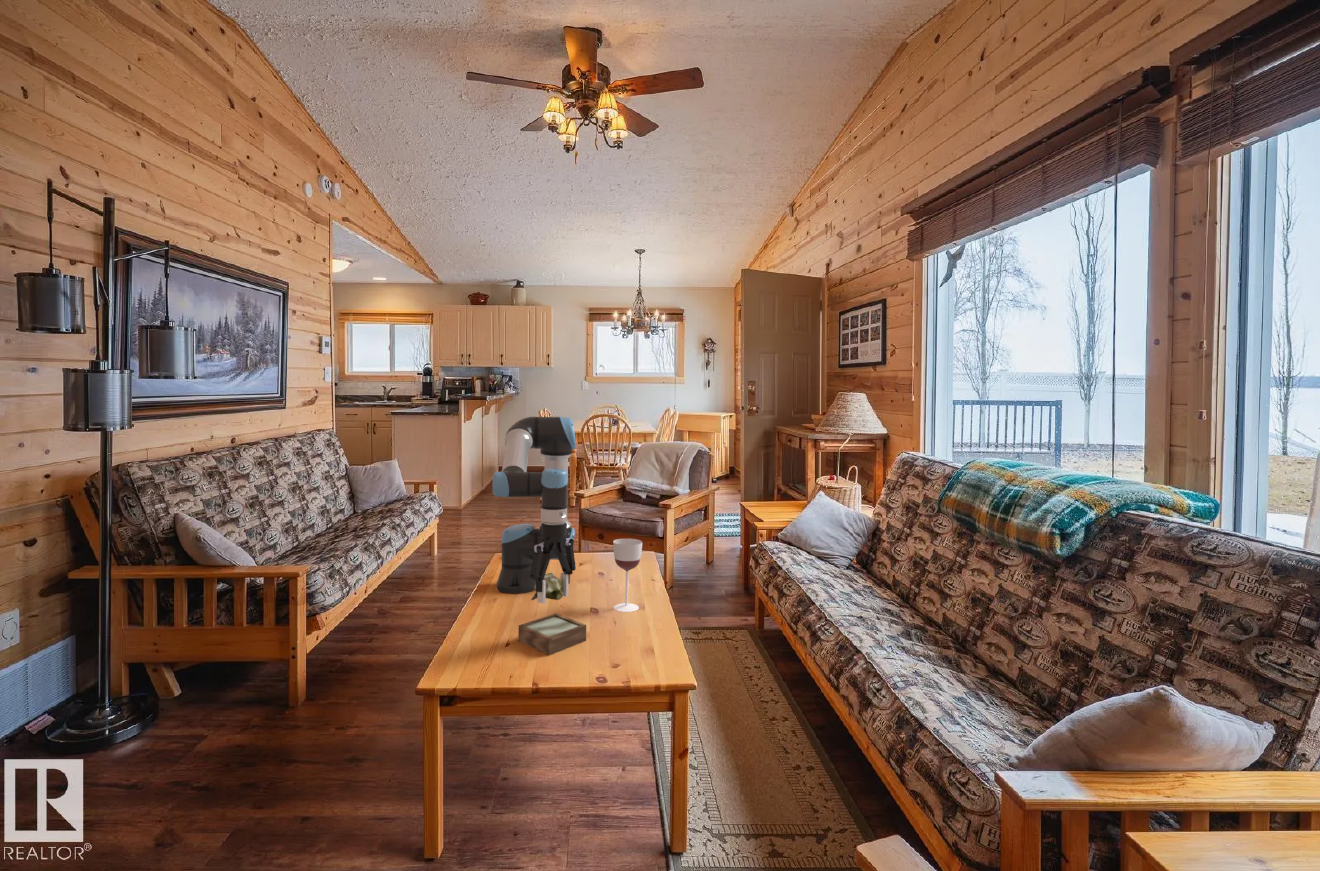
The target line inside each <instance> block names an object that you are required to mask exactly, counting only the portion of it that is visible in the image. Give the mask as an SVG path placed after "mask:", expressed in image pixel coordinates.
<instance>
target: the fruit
mask: <svg viewBox="0 0 1320 871" xmlns="http://www.w3.org/2000/svg"><path fill="white" fill-rule="evenodd" d="M543 580H544V581H546V598H545V599H548V600H554V601H559V600H561V599H562V598H563V597H564V596H563V595H564V594H563V590H562V580H561V577H556V575H555V573H553V572H548V573H545V576H544V579H543ZM534 589H535V590H534V592H535V594H534V595H533V596H532V598H531V601H535V600H536V599H537V595H538V592H537V591H536V584H535V587H534Z"/></svg>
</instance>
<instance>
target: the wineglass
mask: <svg viewBox="0 0 1320 871" xmlns="http://www.w3.org/2000/svg"><path fill="white" fill-rule="evenodd" d="M612 542H613V545H612V547H613V556H614V560H615V561H614V563H615V564H616V565H617V567H619V568H620V569H622V570H624V571H625V594H624V595H625V598H624V602H623V603H618V604H615V605H614V606H613V609H614V610H615V611H618V612H622V613H631V612H636V611H637V610H639V609H640V607H639V605H637V604H636V603H629V572H630V571H631V570H633V569H635V568H636V567H637V566H639V563H640V561H641V558H642V557H641V556H642V551H643V550H642V549H643V541H642V540H640V539H636V538H617V539H614V540H613V541H612Z"/></svg>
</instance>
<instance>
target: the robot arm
mask: <svg viewBox="0 0 1320 871" xmlns="http://www.w3.org/2000/svg"><path fill="white" fill-rule="evenodd" d="M575 432H576V430H575V424H574V420H573V419H572V418H570V417H563V416H527V417H524V418H521V419H520V420H518V421H516V422H514V423H513V424H512V425H511V426H509V428H508V430H507V431H506V433H505V437H504V444H505V452H504V458H503V464H502V469H501V470H500V471H497V472H496V471H495V472H494V473H493V474H492V483H491V484H492V494H493V495H494V496H495V497H503V498H514V497H515V498H517V497H519V498H522V497H523V498H524V497H525V498H527V497H528V498H530V497H532V498H533V497H535V498H536V497H537V498H539V497H540V498H541V506H540V521H541V522H540V523H539V528H535V526H534V524H532V523H520V524H516V525H515V524H514V525H511V526H509V527H508V526H507V527H506V528H504V529H503V531H502V533H501V541H500V542H501V567H500V568H501V569H500V572H499V575H498V577H497V578H498V579H497V581H496V590H497V591H498V592H499V593H503V594H504V593H505V594H515V595H516V594H523V593H530V592H533V591H535V589H534V587H535V584H536V591H537V592H538V595H537V598H536V599H537V602H538V603H540V604H543V605H544V604H546V599H547V598H546V581H544V580H543V579H544V576H545V574H547V570H548V568H549V564H550V562H551V560H557V561H558V562H559V565H560V568H561V571H562V572H561V573H560V579H561V580H562V590H563V594H564V595H563V597H566V598H567V597H569V585H570V582H571V575H572V574H573V573H574V572H573V571H576V560H575V559H576V558H575V551H574V545H575V544H574V543H575V534H576V530H575V528H574V527H572V523H571V522H570V521H569V520H568V494H569V493H568V491H569V490H568V489H569V487H568V486H569V485H568V484H569V458H570V457H571V456H572V455H573V450H577V442H576V441H577V439H576V433H575ZM530 449H535V450H537V449H539V450H540V453H539V454H540V455H541V456H543V459H544V470H542V471H528V470H527V469H528V462H529V460H528V459H529V453H530V452H529V451H530ZM536 591H535V592H536Z"/></svg>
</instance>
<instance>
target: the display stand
mask: <svg viewBox="0 0 1320 871" xmlns="http://www.w3.org/2000/svg"><path fill="white" fill-rule="evenodd" d="M517 637H518V639H517V641H518V642H519V643H521V644H523V645H526V646H528V647H530V648H532V649H535V650H537V651H539V652H541V653H543V654H545V655H548V656H551V655H554V654H556V653H559V652H561V651H564V650H566V649H569V648H571V647H574V646H576V645H579V644H581V643H584V642H586V641H587V624H584V623H583V622H579V621H577V620H575V619H572V618H569V617H566V616H565V615H564V616H563V615H561V614H558V613H556V612H555V613H552V614H550V615H545V616H542V617H540V618H537V619H533V620H531V621H528V622H524V623H521V624H519V625H518V636H517Z"/></svg>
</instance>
